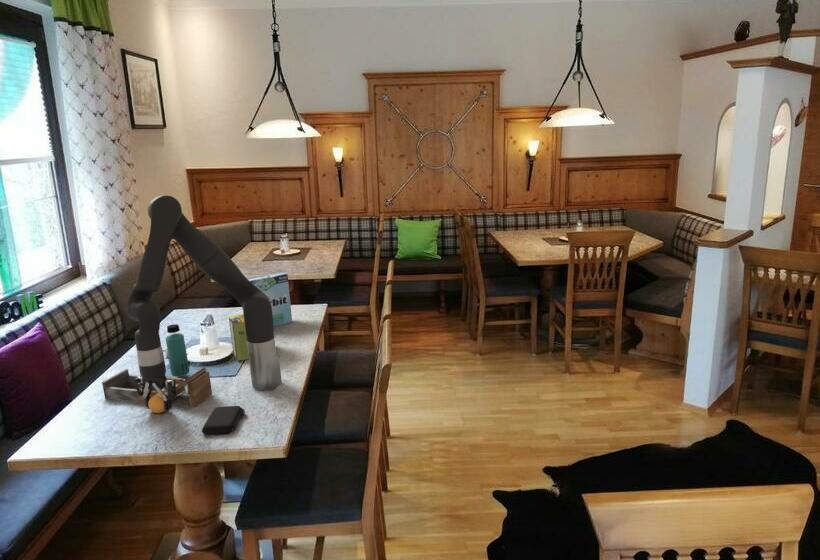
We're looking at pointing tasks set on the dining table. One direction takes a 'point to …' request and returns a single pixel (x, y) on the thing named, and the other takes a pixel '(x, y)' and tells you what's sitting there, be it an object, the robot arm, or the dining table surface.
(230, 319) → the protein box
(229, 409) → the carrying case or bag
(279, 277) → the gum box
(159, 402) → the ball
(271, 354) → the robot arm
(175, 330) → the beverage bottle
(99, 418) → the dining table surface
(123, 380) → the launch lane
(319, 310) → the dining table surface
